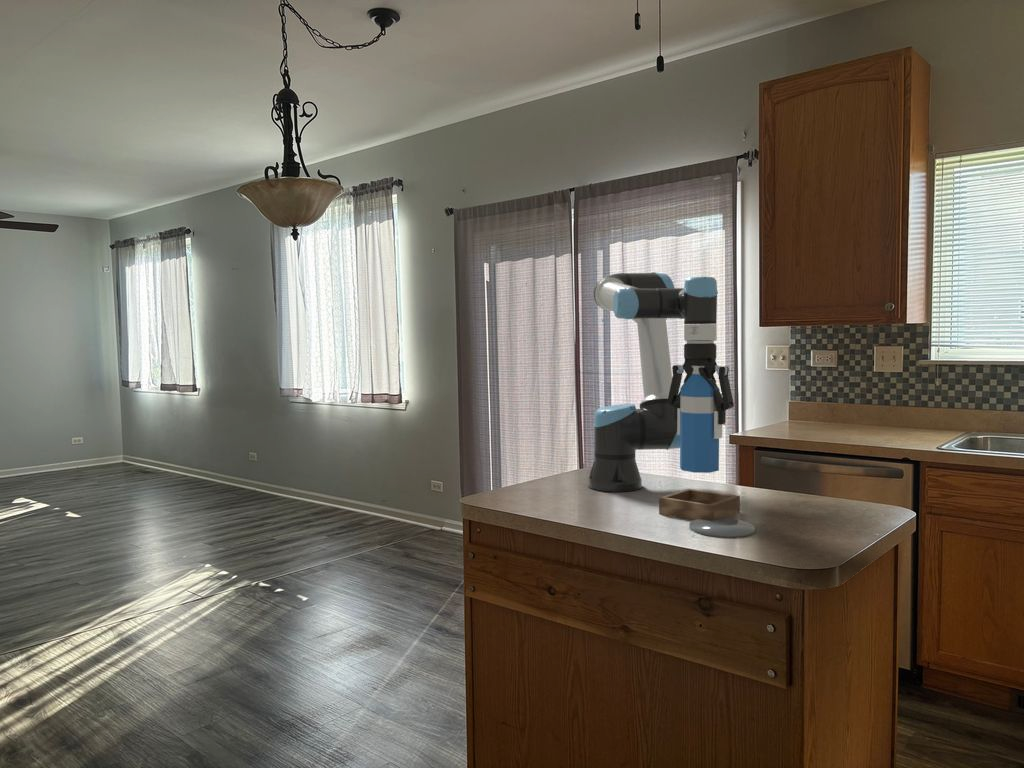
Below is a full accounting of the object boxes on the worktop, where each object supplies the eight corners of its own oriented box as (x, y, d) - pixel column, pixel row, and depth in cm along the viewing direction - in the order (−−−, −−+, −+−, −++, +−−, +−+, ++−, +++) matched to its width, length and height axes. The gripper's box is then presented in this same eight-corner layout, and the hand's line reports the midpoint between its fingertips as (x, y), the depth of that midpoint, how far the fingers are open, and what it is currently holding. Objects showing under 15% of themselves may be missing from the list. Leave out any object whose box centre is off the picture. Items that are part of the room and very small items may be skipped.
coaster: (677, 529, 162) (677, 526, 162) (708, 518, 172) (708, 514, 172) (736, 541, 152) (736, 537, 152) (766, 528, 162) (766, 524, 162)
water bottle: (674, 470, 175) (675, 366, 173) (684, 464, 183) (685, 364, 181) (714, 474, 170) (715, 366, 168) (722, 467, 178) (724, 364, 177)
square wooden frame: (659, 513, 176) (659, 497, 176) (688, 504, 187) (688, 488, 186) (711, 523, 167) (711, 506, 167) (739, 512, 177) (739, 496, 177)
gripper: (652, 342, 179) (652, 433, 181) (735, 342, 164) (734, 442, 166) (668, 342, 184) (668, 430, 186) (750, 342, 170) (749, 438, 171)
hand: (699, 436), depth 176 cm, fingers closed on water bottle, 9 cm apart
